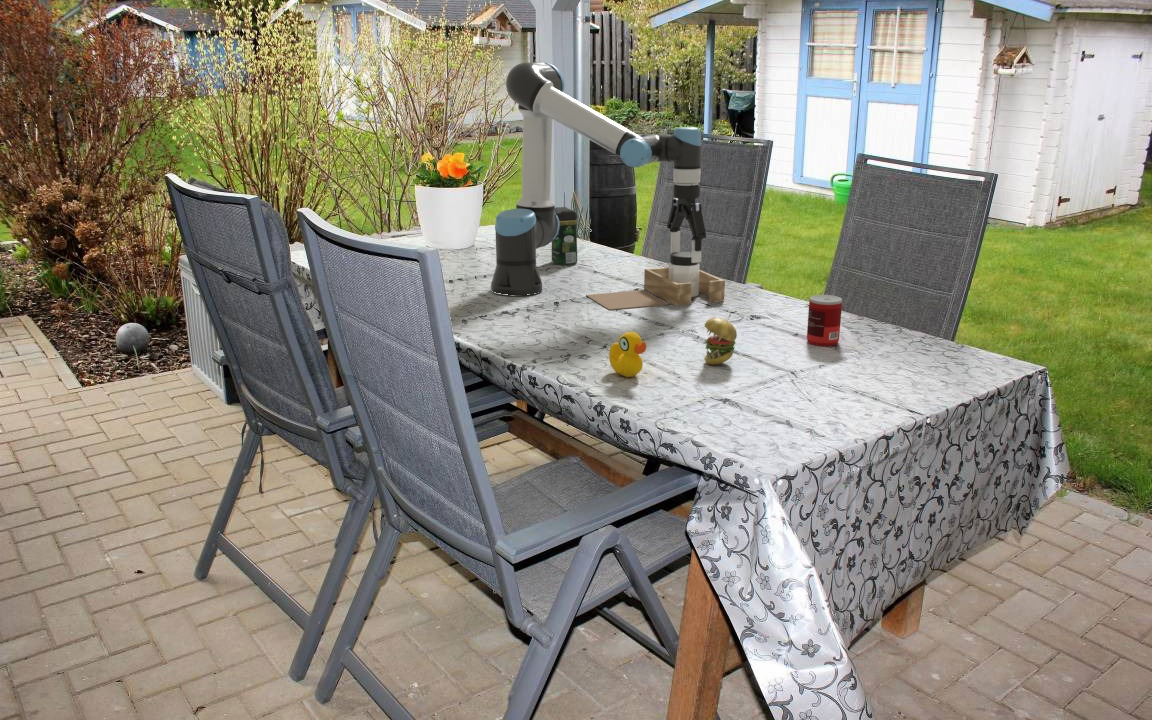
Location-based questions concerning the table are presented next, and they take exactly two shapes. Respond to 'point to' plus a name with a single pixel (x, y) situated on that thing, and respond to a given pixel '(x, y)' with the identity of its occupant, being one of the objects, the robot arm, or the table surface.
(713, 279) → the crate
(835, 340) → the canned food
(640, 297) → the mat
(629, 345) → the duckling
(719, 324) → the hamburger
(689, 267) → the jar
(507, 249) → the robot arm
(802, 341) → the table surface
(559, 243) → the coffee jar
